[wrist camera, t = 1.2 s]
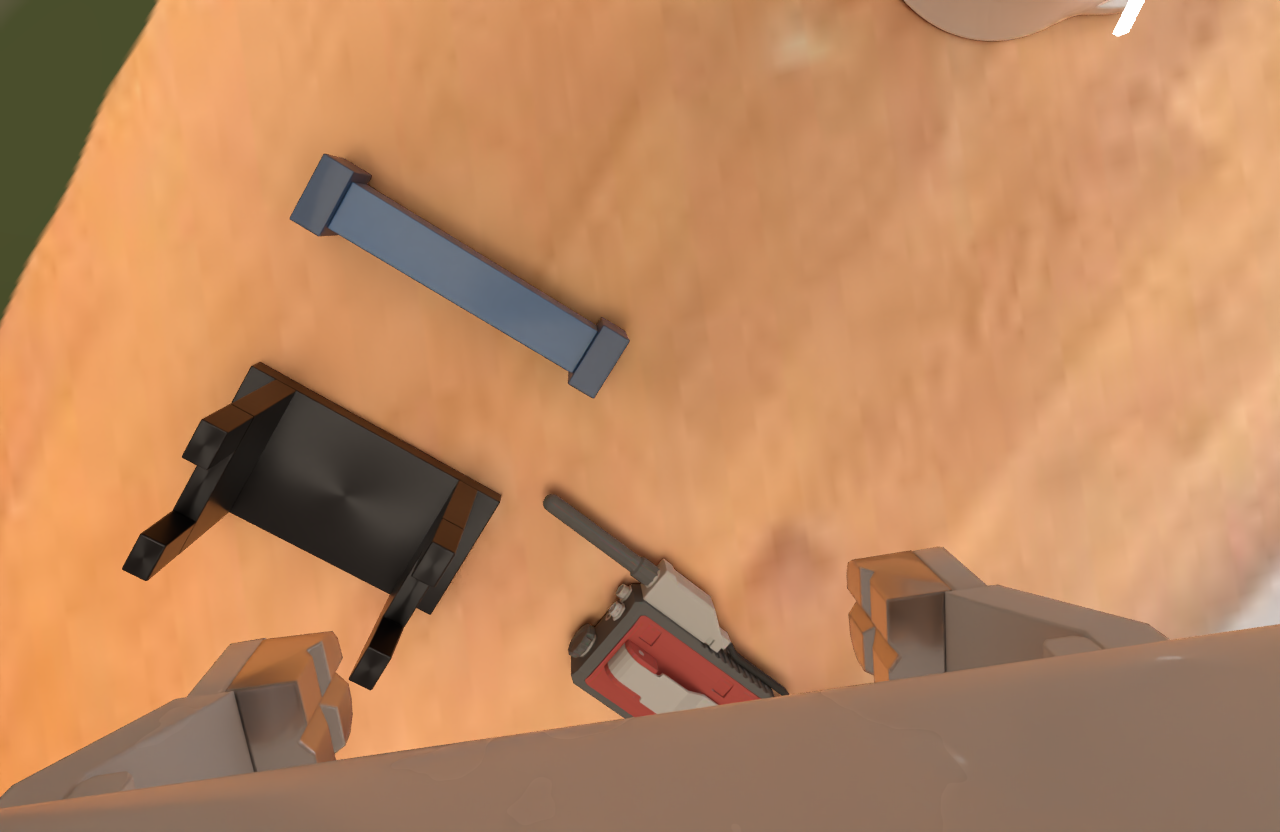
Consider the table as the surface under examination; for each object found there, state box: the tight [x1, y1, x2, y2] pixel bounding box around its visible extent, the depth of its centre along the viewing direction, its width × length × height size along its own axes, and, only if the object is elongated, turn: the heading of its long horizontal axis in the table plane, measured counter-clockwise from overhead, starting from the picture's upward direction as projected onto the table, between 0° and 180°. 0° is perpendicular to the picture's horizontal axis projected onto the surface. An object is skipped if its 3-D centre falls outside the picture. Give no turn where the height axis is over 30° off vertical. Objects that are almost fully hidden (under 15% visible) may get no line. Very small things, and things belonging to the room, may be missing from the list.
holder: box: [122, 362, 501, 690], centre depth 42 cm, size 8×15×10 cm, turn 58°
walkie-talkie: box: [543, 494, 789, 719], centre depth 48 cm, size 9×4×20 cm
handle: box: [290, 154, 629, 398], centre depth 43 cm, size 4×17×4 cm, turn 58°
